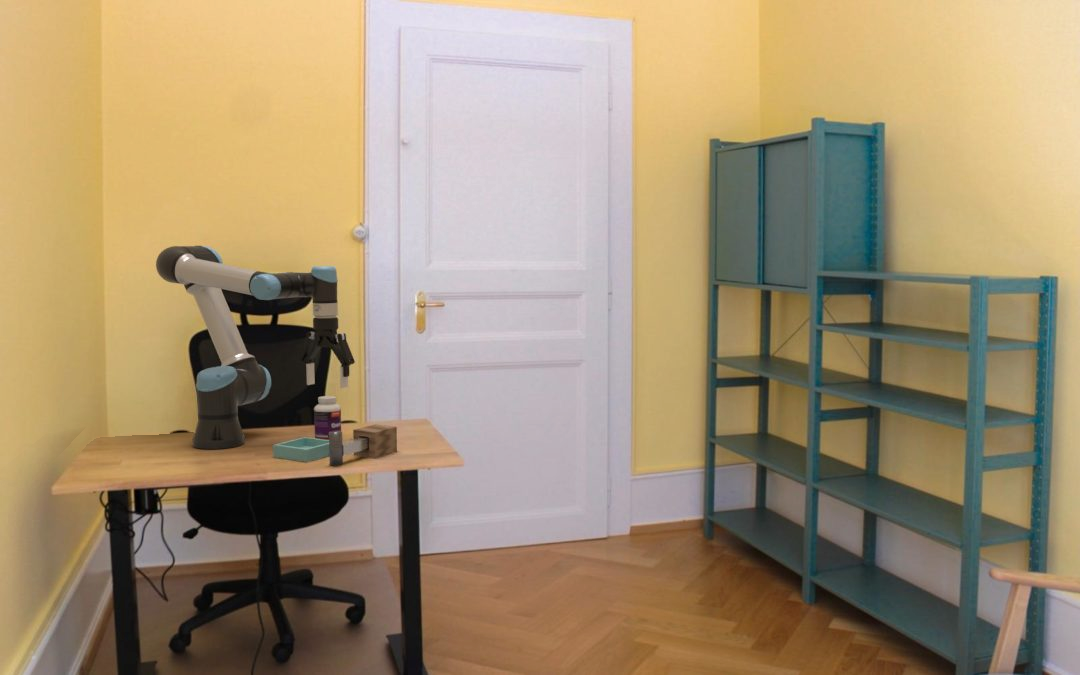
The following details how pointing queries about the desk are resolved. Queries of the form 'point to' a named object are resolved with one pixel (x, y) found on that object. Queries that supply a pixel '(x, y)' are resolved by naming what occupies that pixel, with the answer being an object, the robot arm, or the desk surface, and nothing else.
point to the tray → (302, 449)
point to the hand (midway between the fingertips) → (327, 385)
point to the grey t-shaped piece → (344, 447)
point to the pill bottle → (326, 417)
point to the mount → (377, 440)
